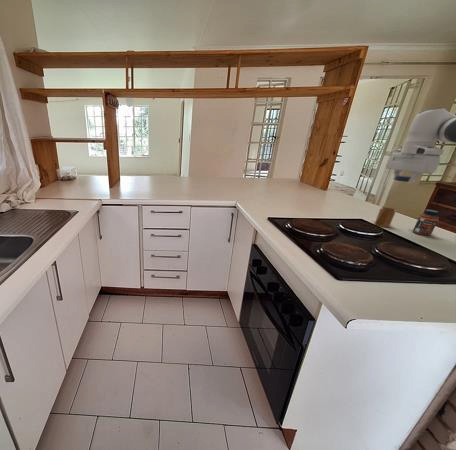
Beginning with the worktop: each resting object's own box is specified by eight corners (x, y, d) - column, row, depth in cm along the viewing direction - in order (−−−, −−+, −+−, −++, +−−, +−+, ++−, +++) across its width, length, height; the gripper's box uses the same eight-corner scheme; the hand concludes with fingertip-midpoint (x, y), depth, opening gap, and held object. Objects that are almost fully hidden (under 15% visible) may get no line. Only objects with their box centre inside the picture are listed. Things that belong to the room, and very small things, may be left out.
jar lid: (401, 181, 105) (403, 177, 104) (391, 179, 110) (392, 175, 110) (417, 182, 104) (418, 178, 103) (405, 180, 109) (407, 176, 109)
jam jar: (383, 223, 122) (389, 205, 119) (392, 227, 117) (400, 209, 113) (371, 223, 122) (378, 205, 119) (380, 227, 117) (387, 208, 114)
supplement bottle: (416, 234, 108) (427, 211, 104) (409, 230, 113) (419, 208, 109) (434, 237, 106) (445, 213, 102) (425, 232, 111) (436, 209, 107)
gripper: (387, 148, 112) (377, 177, 117) (431, 150, 93) (417, 185, 98) (401, 149, 112) (390, 178, 117) (448, 150, 93) (433, 185, 97)
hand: (403, 181), depth 107 cm, fingers closed on jar lid, 6 cm apart
